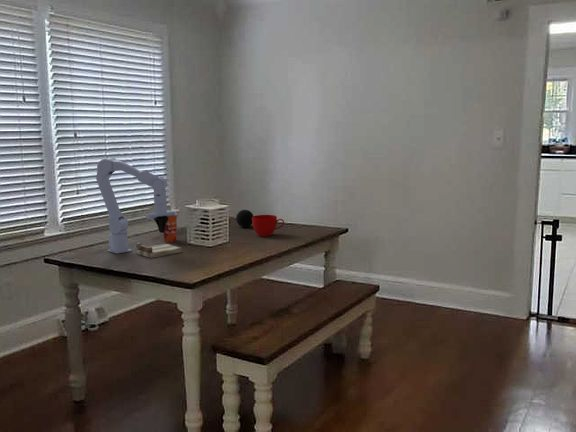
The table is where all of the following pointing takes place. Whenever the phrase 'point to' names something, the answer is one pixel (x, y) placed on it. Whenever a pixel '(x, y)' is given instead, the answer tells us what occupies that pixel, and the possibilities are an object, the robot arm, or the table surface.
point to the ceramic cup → (265, 224)
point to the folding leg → (143, 247)
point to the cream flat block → (160, 250)
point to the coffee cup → (171, 229)
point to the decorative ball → (244, 218)
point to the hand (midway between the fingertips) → (161, 232)
